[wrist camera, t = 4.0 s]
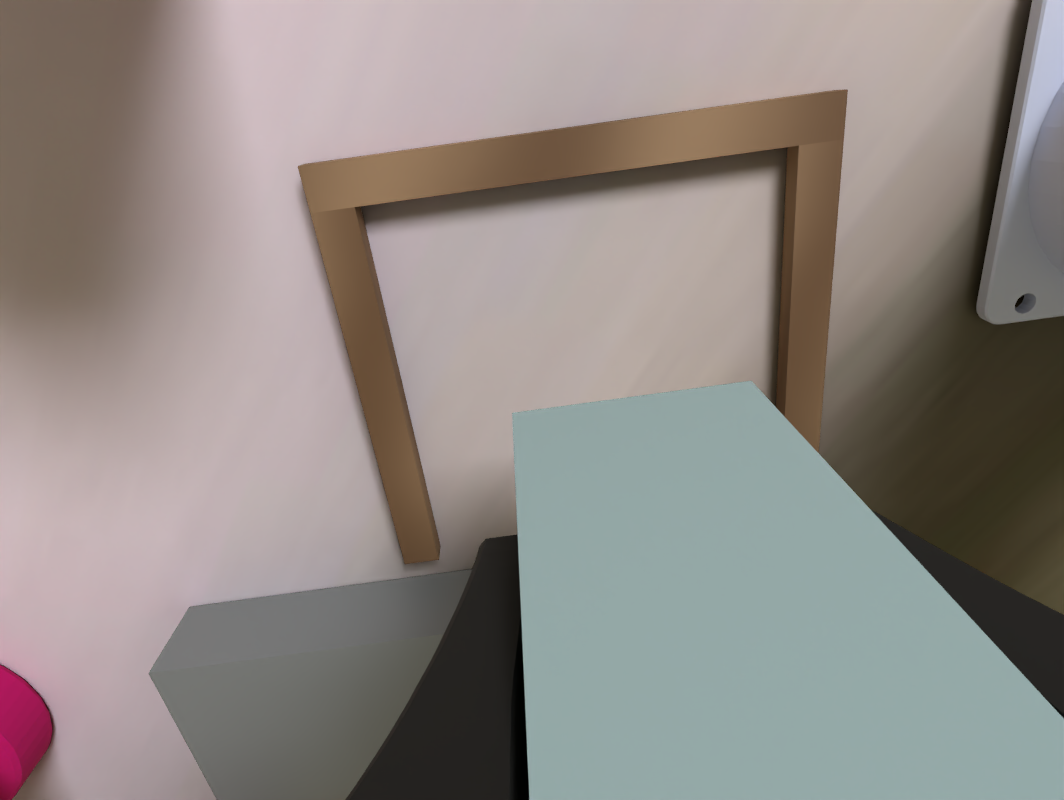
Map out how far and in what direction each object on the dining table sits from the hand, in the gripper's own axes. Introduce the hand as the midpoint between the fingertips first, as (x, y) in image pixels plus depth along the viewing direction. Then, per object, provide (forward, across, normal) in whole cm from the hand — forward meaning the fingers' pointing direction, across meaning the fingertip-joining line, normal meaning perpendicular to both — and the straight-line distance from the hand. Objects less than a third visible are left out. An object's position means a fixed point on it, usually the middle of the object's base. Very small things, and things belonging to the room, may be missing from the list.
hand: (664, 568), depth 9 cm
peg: (+2, 0, 0) cm, 2 cm away
